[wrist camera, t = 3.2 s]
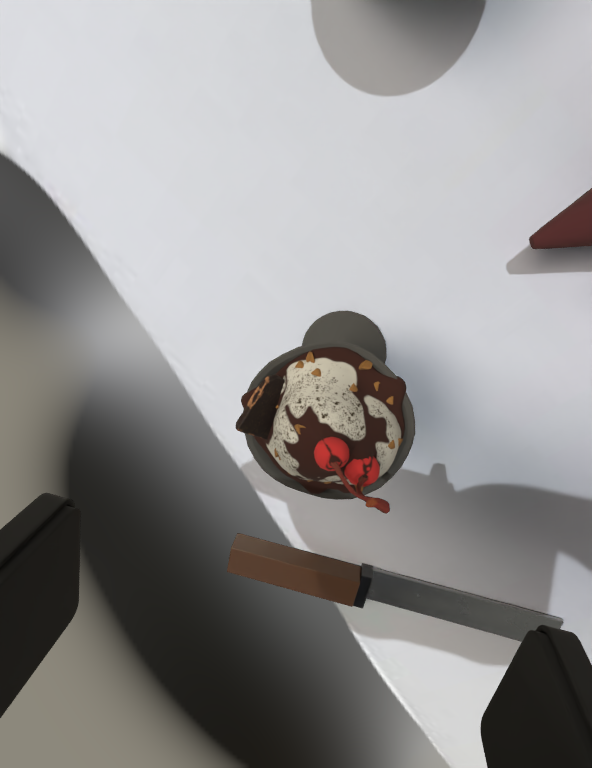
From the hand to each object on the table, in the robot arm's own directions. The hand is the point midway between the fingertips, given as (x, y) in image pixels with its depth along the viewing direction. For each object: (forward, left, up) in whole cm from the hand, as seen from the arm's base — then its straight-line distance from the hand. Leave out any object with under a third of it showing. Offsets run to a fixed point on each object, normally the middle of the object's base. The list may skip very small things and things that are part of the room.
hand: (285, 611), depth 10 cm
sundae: (0, 0, -19) cm, 19 cm away
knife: (-8, +16, -19) cm, 26 cm away
